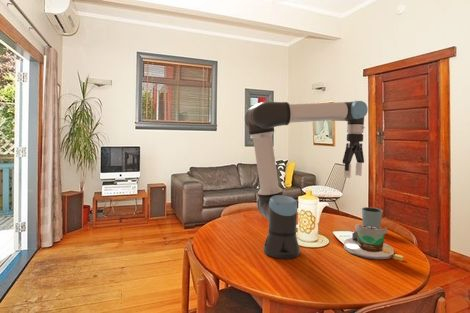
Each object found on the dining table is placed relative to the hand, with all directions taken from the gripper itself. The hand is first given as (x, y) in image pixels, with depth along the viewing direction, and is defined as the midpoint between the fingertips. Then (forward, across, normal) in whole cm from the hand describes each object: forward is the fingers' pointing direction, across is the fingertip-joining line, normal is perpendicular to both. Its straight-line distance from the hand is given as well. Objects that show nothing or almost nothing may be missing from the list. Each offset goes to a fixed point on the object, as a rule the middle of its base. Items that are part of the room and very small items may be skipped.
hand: (353, 176), depth 143 cm
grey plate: (+31, -12, -13) cm, 35 cm away
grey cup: (+31, +18, -4) cm, 36 cm away
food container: (+28, -17, -16) cm, 37 cm away
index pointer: (+31, -12, -25) cm, 41 cm away
